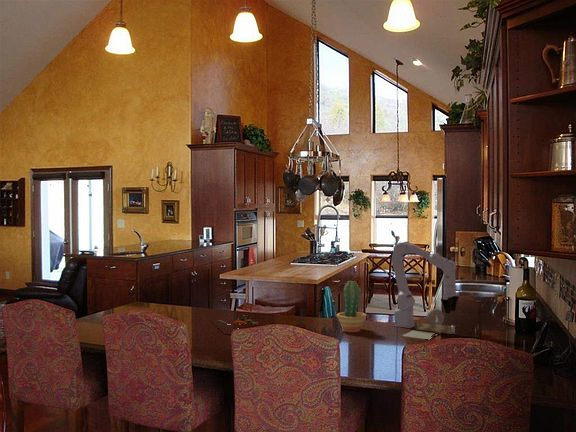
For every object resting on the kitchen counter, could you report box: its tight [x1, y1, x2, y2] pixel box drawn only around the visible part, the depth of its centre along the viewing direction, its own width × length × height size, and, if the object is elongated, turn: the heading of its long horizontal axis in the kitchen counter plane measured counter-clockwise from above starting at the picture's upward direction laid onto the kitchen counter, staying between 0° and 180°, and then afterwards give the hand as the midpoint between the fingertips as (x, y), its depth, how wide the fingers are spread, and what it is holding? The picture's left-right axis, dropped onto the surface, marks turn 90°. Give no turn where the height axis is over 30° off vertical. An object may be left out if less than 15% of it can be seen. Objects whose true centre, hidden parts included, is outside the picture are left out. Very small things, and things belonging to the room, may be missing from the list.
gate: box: [414, 321, 451, 334], centre depth 266 cm, size 18×1×3 cm, turn 54°
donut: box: [426, 308, 445, 325], centre depth 275 cm, size 10×4×10 cm, turn 110°
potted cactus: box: [336, 280, 367, 333], centre depth 273 cm, size 15×15×25 cm
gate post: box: [450, 324, 456, 335], centre depth 260 cm, size 2×2×4 cm
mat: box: [401, 329, 436, 341], centre depth 260 cm, size 14×14×1 cm
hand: (450, 312), depth 267 cm, fingers open, 7 cm apart
